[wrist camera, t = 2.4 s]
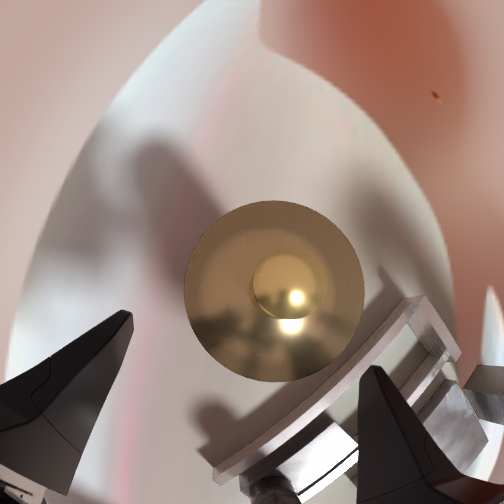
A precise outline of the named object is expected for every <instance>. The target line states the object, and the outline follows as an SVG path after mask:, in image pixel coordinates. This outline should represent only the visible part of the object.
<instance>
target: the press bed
mask: <svg viewBox="0 0 504 504" xmlns="http://www.w3.org/2000/svg"><path fill="white" fill-rule="evenodd" d="M463 391H464V393H465V394H466V396H467V398H468V400H469V401H470V403H471V405H472V407H473V409H474V411H475V412H476V414H477V416H478V418H479V419H482V420H486V421H489V422H493V423H497V424H501V425H504V367H501V366H487V365H477V367H476V368H475V370H474V371H473V373H472V375H471V376H470V378H469V379H468V381H467V382H466V384H465V386H464V387H463ZM417 417H418V418H419V420H420V421H421V422H422V424H423V425H424V427H425V428H426V431H428V432H429V434H430V435H431V437H432V438H433V439H434V441H435V442H436V444H437V445H438V446H439V448H440V449H441V450H442V451H443V453H444V454H445V455H446V456H447V457H448V459H449V460H450V461H451V462H452V463H453V465H454V466H455V467H456V468H457V469H458V470H459V471H460V472H461V473H462V474H464V473H465V471H466V470H467V469H468V468H469V467H470V465H471V464H472V463H473V461H474V460H475V459H476V458H477V456H478V455H479V454H480V452H481V451H482V450H483V448H484V447H485V445H486V444H487V442H488V439H487V437H486V435H485V433H484V431H483V429H482V427H481V425H480V423H479V421H478V419H477V417H476V415H475V413H474V412H473V410H472V408H471V406H470V404H469V402H468V401H467V399H466V397H465V395H464V394H463V392H462V390H461V389H460V387H459V385H458V383H457V382H456V381H454V380H448V379H445V380H444V382H443V383H442V384H441V386H440V387H439V388H438V390H437V391H436V392H435V394H434V395H433V396H432V397H431V399H430V400H429V401H428V402H427V404H426V405H425V406H424V407H423V409H422V410H421V411H420V412H419V413H418V414H417ZM357 479H358V474H357V475H356V476H355V477H354V478H352V479H351V481H352V483H353V484H354V485H355V486H356V487H357Z"/></svg>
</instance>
